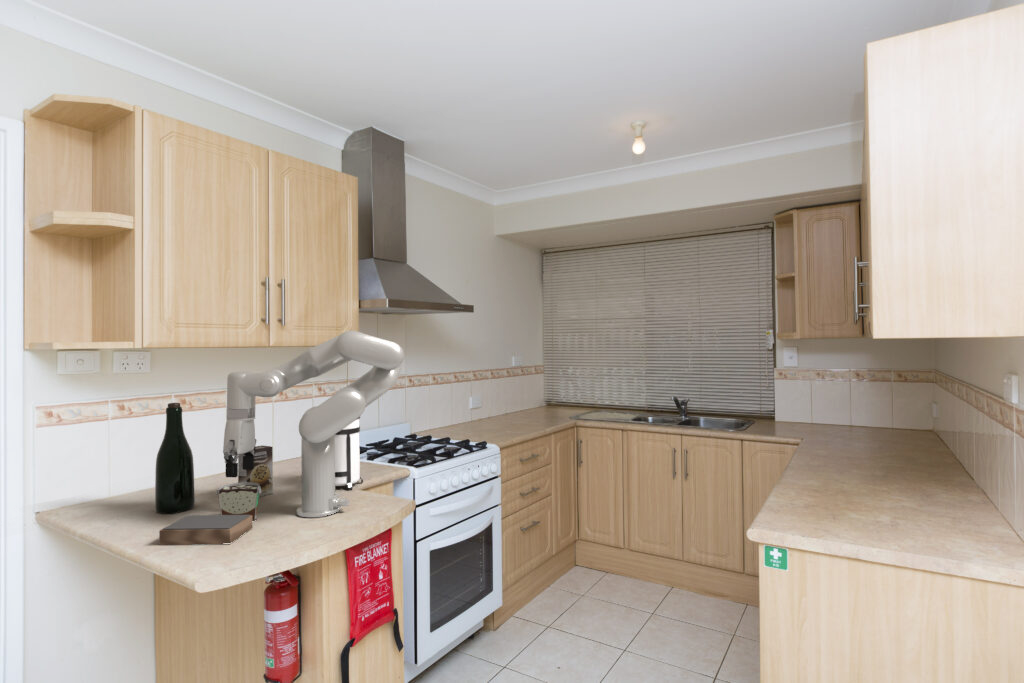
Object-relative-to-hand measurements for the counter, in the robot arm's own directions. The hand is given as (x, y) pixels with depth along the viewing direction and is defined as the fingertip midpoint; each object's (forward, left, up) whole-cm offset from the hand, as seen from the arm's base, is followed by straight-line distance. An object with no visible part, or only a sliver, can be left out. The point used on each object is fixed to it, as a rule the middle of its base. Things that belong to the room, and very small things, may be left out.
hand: (240, 473), depth 163 cm
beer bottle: (+25, -10, -14) cm, 30 cm away
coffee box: (+7, -25, -14) cm, 30 cm away
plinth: (+1, +15, -13) cm, 20 cm away
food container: (-1, 0, -14) cm, 14 cm away
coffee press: (-19, -35, -14) cm, 42 cm away
